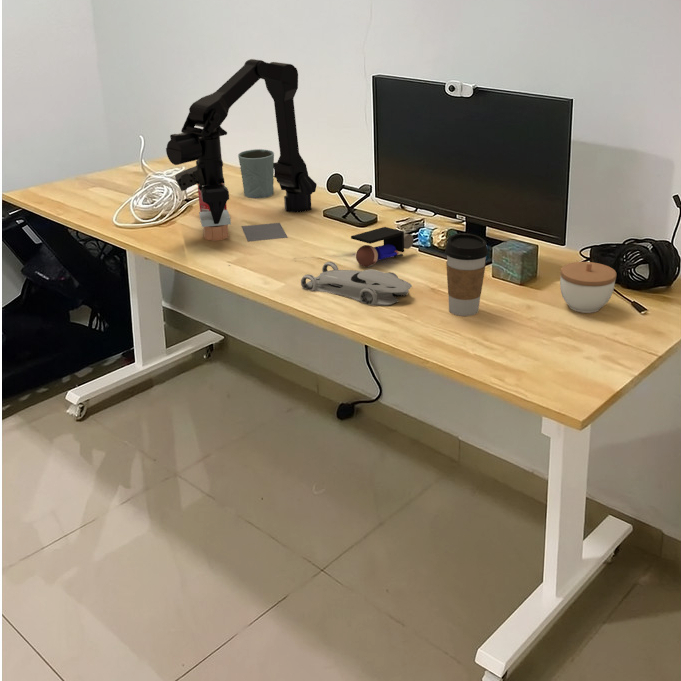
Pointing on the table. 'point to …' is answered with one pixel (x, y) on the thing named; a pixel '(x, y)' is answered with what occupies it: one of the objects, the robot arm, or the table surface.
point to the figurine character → (392, 245)
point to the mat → (264, 232)
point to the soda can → (204, 206)
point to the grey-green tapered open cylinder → (257, 172)
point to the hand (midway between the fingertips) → (215, 219)
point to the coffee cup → (465, 272)
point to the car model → (358, 285)
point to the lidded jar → (587, 285)
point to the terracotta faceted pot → (216, 232)
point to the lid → (208, 220)
